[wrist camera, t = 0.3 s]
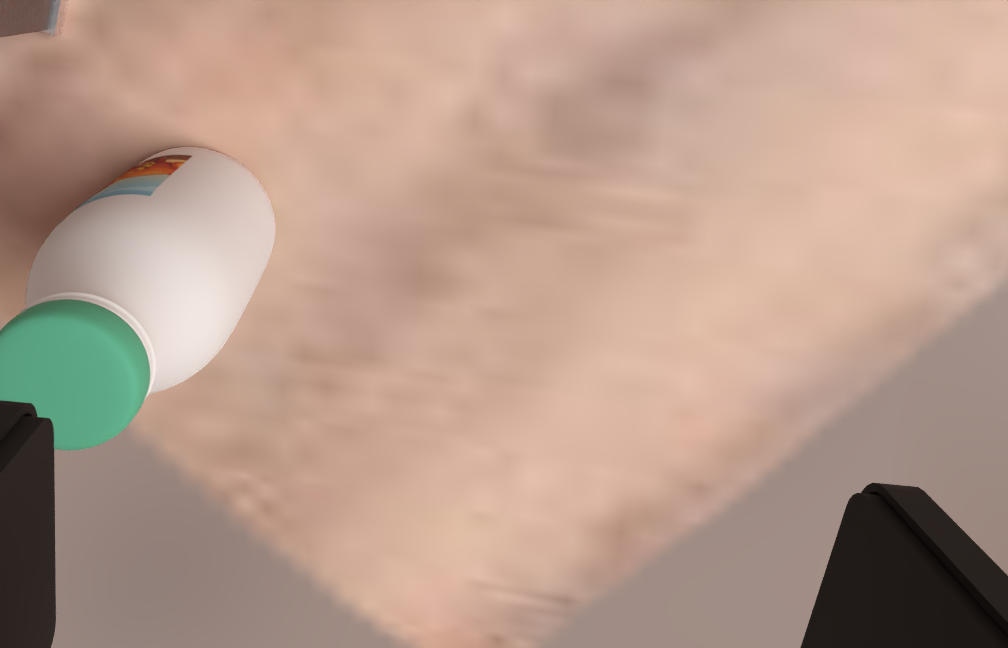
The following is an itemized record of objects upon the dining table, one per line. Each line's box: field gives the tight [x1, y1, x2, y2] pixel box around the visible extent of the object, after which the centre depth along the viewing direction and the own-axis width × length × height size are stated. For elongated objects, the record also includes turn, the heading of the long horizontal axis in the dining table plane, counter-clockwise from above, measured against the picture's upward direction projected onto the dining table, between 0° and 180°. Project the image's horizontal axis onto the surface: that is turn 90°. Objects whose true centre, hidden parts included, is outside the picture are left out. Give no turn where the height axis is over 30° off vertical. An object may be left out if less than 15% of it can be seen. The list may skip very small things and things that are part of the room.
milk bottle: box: [0, 147, 276, 450], centre depth 37 cm, size 8×8×20 cm
